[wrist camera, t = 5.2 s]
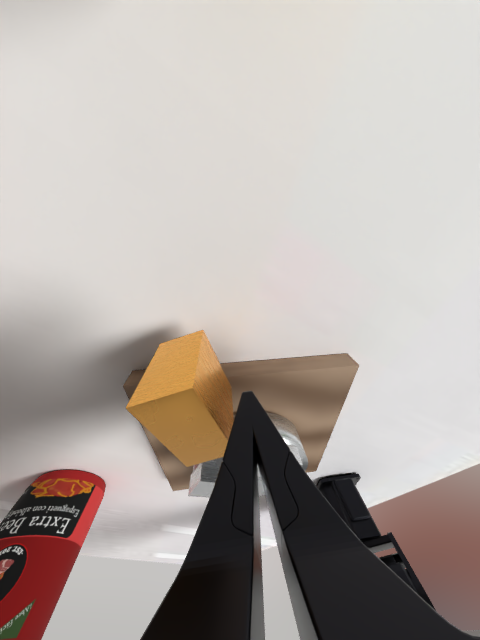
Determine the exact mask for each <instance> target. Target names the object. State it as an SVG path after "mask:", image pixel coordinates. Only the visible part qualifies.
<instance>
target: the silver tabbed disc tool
mask: <svg viewBox="0 0 480 640" xmlns="http://www.w3.org/2000/svg"><path fill="white" fill-rule="evenodd" d="M126 409H127V410H128V411H129V412H130V413H131V414H132V415H133V416H134V417H135V418H136V419H137V420H138V421H139V422H140V423H141V424H142V425H143V426H145V427H146V428H147V429H148V430H149V431H150V432H151V433H152V434H153V435H154V436H155V437H156V438H157V439H158V440H159V441H160V442H161V443H162V444H163V445H164V446H165V447H166V448H167V449H168V450H169V451H171V452H172V453H173V454H174V455H175V456H176V457H177V458H178V459H179V460H180V461H181V462H182V463H183V464H184V465H185V466H186V467H189V466H192V465H194V466H193V473H192V474H191V477H190V485H189V493H188V496H196V497H210V496H211V493H212V491H213V488H214V485H215V482H216V479H217V476H218V473H219V469H220V466H221V463H222V462H223V461H222V459H223V456H224V453H225V449H226V446H227V442H228V439H229V435H230V432H231V429H232V425H233V422H234V418H235V415H236V414H235V415H233V402H232V387H231V385H230V383H229V381H228V379H227V377H226V375H225V373H224V371H223V369H222V367H221V365H220V363H219V361H218V359H217V357H216V355H215V353H214V351H213V349H212V347H211V345H210V343H209V341H208V339H207V337H206V335H205V333H204V331H203V330H201V331H198V332H195V333H192V334H189V335H185V336H182V337H179V338H176V339H173V340H170V341H167V342H164V343H161V344H160V345H159V347H158V349H157V351H156V353H155V354H154V356H153V358H152V360H151V362H150V364H149V366H148V367H147V369H146V371H145V373H144V375H143V377H142V379H141V381H140V382H139V384H138V386H137V388H136V390H135V392H134V394H133V395H132V397H131V399H130V401H129V403H128V405H127V407H126ZM266 413H267V414H268V416H269V417H270V419H271V421H272V422H273V424H274V425H275V427H276V428H277V430H278V431H279V433H280V435H281V436H282V438H283V439H284V441H285V442H286V444H287V445H288V447H289V448H290V451H292V453H293V455H294V456H295V458H296V459H297V461H298V462H299V464H300V465H301V467H302V468H303V469H304V471H306V469H307V467H308V459H307V456H306V454H305V451H304V448H303V446H302V443H301V440H300V438H299V435H298V433H297V430H296V427H295V426H294V424H293V423H292V422H291V421H290V420H288V419H287V418H285V417H283V416H281V415H277V414H274V413H269V412H266ZM257 467H258V464H257ZM258 490H259V496H263V495H265V492H264V488H263V484H262V480H261V476H260V472H259V468H258Z"/></svg>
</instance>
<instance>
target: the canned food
mask: <svg viewBox="0 0 480 640" xmlns="http://www.w3.org/2000/svg"><path fill="white" fill-rule="evenodd" d="M105 487H106V485H105V482H104V481H103V479H102V478H100V477H99V476H97V475H95V474H92V473H89V472H85V471H80V470H57V471H52V472H48V473H46V474H43V475H41V476H40V477H38V478H37V479H36V480H35V481H34V482H33V483H32V484H31V485H30V486H29V487H28V488H27V489H26V491H25V492H24V493H23V494H22V496H21V497H20V498H19V500H18V501H17V502H16V504H15V505H14V506H13V508H12V509H11V510H10V512H9V513H8V514H7V516H6V517H5V518H4V520H3V521H2V522H1V524H0V640H41V639H42V636H43V634H44V632H45V629H46V627H47V625H48V623H49V620H50V618H51V616H52V613H53V611H54V609H55V606H56V604H57V602H58V600H59V597H60V595H61V593H62V591H63V588H64V586H65V584H66V581H67V579H68V577H69V574H70V572H71V570H72V568H73V565H74V563H75V561H76V558H77V556H78V554H79V552H80V549H81V547H82V545H83V543H84V540H85V538H86V536H87V533H88V531H89V529H90V527H91V524H92V522H93V520H94V517H95V515H96V513H97V510H98V508H99V506H100V504H101V501H102V499H103V496H104V492H105Z"/></svg>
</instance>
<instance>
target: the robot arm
mask: <svg viewBox="0 0 480 640" xmlns="http://www.w3.org/2000/svg"><path fill="white" fill-rule="evenodd" d="M222 461H223V462H222V463H221V466H220V469H219V473H218V476H217V479H216V482H215V485H214V488H213V491H212V493H211V496H210V499H209V501H208V504H207V506H206V509H205V511H204V514H203V516H202V519H201V521H200V524H199V526H198V529H197V531H196V534H195V536H194V539H193V541H192V544H191V546H190V549H189V551H188V553H187V556H186V558H185V560H184V562H183V565H182V567H181V569H180V571H179V573H178V575H177V577H176V579H175V581H174V582H173V584H172V586H171V587H170V589H169V591H168V592H167V594H166V596H165V598H164V599H163V601H162V603H161V605H160V606H159V608H158V610H157V611H156V613H155V615H154V617H153V618H152V620H151V622H150V624H149V625H148V627H147V629H146V630H145V632H144V634H143V636H142V637H141V639H140V640H265V629H264V607H263V606H264V605H263V583H262V559H261V536H260V513H259V490H258V468H259V472H260V476H261V480H262V484H263V488H264V492H265V496H266V501H267V505H268V509H269V513H270V517H271V521H272V525H273V529H274V533H275V537H276V542H277V546H278V550H279V554H280V557H281V562H282V566H283V570H284V574H285V579H286V583H287V587H288V591H289V595H290V599H291V603H292V607H293V611H294V615H295V619H296V624H297V628H298V631H299V636H300V640H480V630H477V631H461V630H460V629H458V628H456V627H455V626H453V625H452V624H450V623H449V622H448V621H447V620H445V619H444V618H443V617H442V616H441V615H439V614H438V613H437V612H436V610H435V608H434V606H433V605H432V603H431V601H430V599H429V598H428V596H427V594H426V592H425V590H424V589H423V587H422V585H421V584H420V582H419V580H418V578H417V577H416V575H415V573H414V571H413V569H412V568H411V566H410V564H409V562H408V561H407V559H406V557H405V555H404V554H403V552H402V550H401V549H400V547H399V545H398V543H397V542H396V540H395V538H394V536H393V535H392V533H391V532H390V533H388V534H387V535H384V536H381V534H380V532H379V530H378V528H377V526H376V524H375V523H374V521H373V519H372V517H371V515H370V513H369V511H368V509H367V507H366V505H365V503H364V501H363V499H362V498H361V496H360V494H359V492H358V490H357V488H356V486H355V485H356V484H357V482H358V481H359V479H360V478H361V477H360V475H359V474H352V475H345V476H337V477H330V478H323V479H321V480H320V481H319V483H318V486H317V487H316V486H315V484H314V483H313V482H312V480H311V479H310V478H309V476H308V475H307V474H306V472H305V471H304V469H303V468H302V467H301V465H300V464H299V462H298V461H297V459H296V458H295V456H294V455H293V453H292V451H290V448H289V447H288V445H287V444H286V442H285V441H284V439H283V438H282V436H281V435H280V433H279V431H278V430H277V428H276V427H275V425H274V424H273V422H272V421H271V419H270V417H269V416H268V414H267V413H266V411H265V410H264V408H263V407H262V405H261V404H260V402H259V400H258V399H257V397H256V396H255V394H254V393H253V391H246V392H242V395H241V398H240V401H239V405H238V408H237V412H236V415H235V418H234V422H233V425H232V429H231V432H230V435H229V439H228V442H227V446H226V449H225V453H224V456H223V459H222ZM257 464H258V467H257ZM390 548H395V549H396V551H397V553H396V554H392V555H387V556H384V557H380V558H378V557H377V556H376V555H375V554H374V553H376V552H379V551H383V550H387V549H390ZM405 568H406V569H405Z"/></svg>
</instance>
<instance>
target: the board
mask: <svg viewBox="0 0 480 640" xmlns="http://www.w3.org/2000/svg"><path fill="white" fill-rule="evenodd" d="M220 365H221V367H222V369H223V371H224V373H225V375H226V377H227V379H228V381H229V383H230V385H231V387H232V402H233V415H235V414H236V412H237V408H238V405H239V401H240V398H241V395H242V392H246V391H253V393H254V394H255V396H256V397H257V399H258V400H259V402H260V404H261V405H262V407H263V408H264V410H265V411H266V412H269V413H274V414H277V415H281V416H283V417H285V418H287V419H288V420H290V421H291V422H292V423H293V424H294V426H295V427H296V430H297V433H298V435H299V438H300V440H301V443H302V446H303V448H304V451H305V454H306V456H307V459H308V467H307V469H306V471H305V472H314V471H316V470H317V468H318V465H319V463H320V460H321V458H322V455H323V453H324V450H325V448H326V446H327V443H328V441H329V438H330V436H331V433H332V431H333V428H334V426H335V424H336V421H337V419H338V416H339V414H340V411H341V409H342V406H343V404H344V402H345V399H346V397H347V394H348V392H349V389H350V387H351V384H352V382H353V380H354V377H355V375H356V372H357V370H358V367H359V365H358V364H357V363H356V362H355V361H354V360H353V359H352V358H351V357H350V356H349V355H348V354H347V353H346V354H334V355H321V356H309V357H296V358H284V359H272V360H259V361H247V362H235V363H222V364H220ZM145 371H146V370H136V371H132V372H131V374H130V375H129V377H128V379H127V380H126V382H125V383H124V385H123V387H124V389H125V391H126V394H127V396H128V398H129V400H130V399H131V397H132V395H133V394H134V392H135V390H136V388H137V386H138V384H139V382H140V381H141V379H142V377H143V375H144V373H145ZM141 425H142V424H141ZM142 427H143V429H144V431H145V433H146V435H147V437H148V440H149V442H150V444H151V446H152V448H153V450H154V452H155V454H156V456H157V458H158V460H159V463H160V465H161V467H162V469H163V471H164V473H165V475H166V477H167V479H168V481H169V483H170V486H171V488H172V490H173V491H176V490H183V489H189V485H190V477H191V474H192V473H193V466H194V465H192V466H189V467H186V466H185V465H184V464H183V463H182V462H181V461H180V460H179V459H178V458H177V457H176V456H175V455H174V454H173V453H172V452H171V451H169V450H168V449H167V448H166V447H165V446H164V445H163V444H162V443H161V442H160V441H159V440H158V439H157V438H156V437H155V436H154V435H153V434H152V433H151V432H150V431H149V430H148V429H147V428H146V427H145V426H143V425H142Z"/></svg>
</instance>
